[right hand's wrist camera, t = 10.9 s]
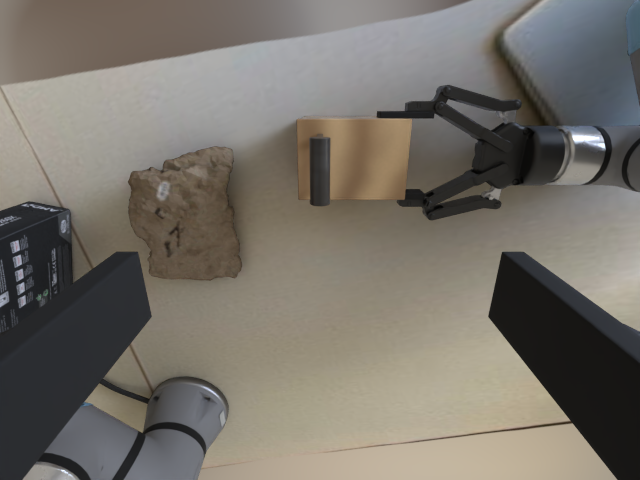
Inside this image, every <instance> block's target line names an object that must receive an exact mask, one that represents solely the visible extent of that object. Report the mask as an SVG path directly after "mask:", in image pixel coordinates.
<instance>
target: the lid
mask: <svg viewBox="0 0 640 480" xmlns="http://www.w3.org/2000/svg"><path fill="white" fill-rule="evenodd" d="M411 126H412V119H297V154H298V196H299V200H310V204H311V205H314V206H326V205H329V204H330V200H404V199H405V191H406V180H407V169H408V158H409V148H410V137H411Z"/></svg>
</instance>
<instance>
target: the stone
mask: <svg viewBox="0 0 640 480" xmlns="http://www.w3.org/2000/svg"><path fill="white" fill-rule="evenodd" d="M233 159H234V158H233V151H232V149H229V148H226V147H210V148H206V149H202V150H198V151H196V152H194V153H187V154H185V155H182V156H180V157H179V158H175V159H173V160H166V161H165V162H164V164H163V170H160V171H159V170H156V169H155V168H153V167H150V168H149V169H147V170H143V171H133V172H132V173H131V175H130V179H129V181H128V183H129V185H130V186H131V190H132V191H131V197H130V199H129V202H130V203H129V218H130V222H131V226H132V228H133V230H134V232H135V234H136V235H137V236H138V237H139V238H142V239H143V240H144V241H145V242H146V243H147V245H148V247H149V248H150V249H151V252H150V257H149V258H148V261H149V264H150V265H149V267H150V269H149V273H150V274H151V275H152V276H155V277H160V278H166V279H195V280H212V279H213V278H215V277H232V278H236V277H237V274H238V273H239V272H240V271H241V267H242V263H241V259H240V257H239V255H238V253H239V241H238V239H237V236H236V232H235V230H234V228H233V215H234V210H233V207H232V206H229V205H228V202H229V201H228V195H227V191H226V189H227V185H228V182H229V179H230V172H231V171H232V169H233V166H232V164H233Z"/></svg>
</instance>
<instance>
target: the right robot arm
mask: <svg viewBox="0 0 640 480" xmlns="http://www.w3.org/2000/svg"><path fill="white" fill-rule="evenodd" d="M151 317H152V316H151V311H150V306H149V302H148V297H147V292H146V288H145V283H144V278H143V274H142V269H141V264H140V260H139V255H138V252H116V253H114V254H113V255H111V256H110V257H109V258H107V259H106V260H105V261H103V262H102V263H100V264H99V265H98V266H96V267H95V268H94V269H92V270H91V271H89V272H88V273H87V274H85V275H84V276H83V277H81V278H80V279H78V280H77V281H76V282H74V283H73V284H72V285H70V286H69V287H67V288H66V289H65V290H63V291H62V292H60V293H59V294H58V295H56V296H55V297H54V298H52V299H51V300H49V301H48V302H47V303H45V304H44V305H43V306H41V307H40V308H38V309H37V310H36V311H34V312H33V313H32V314H30V315H29V316H27V317H26V318H25V319H23V320H22V321H21V322H19V323H18V324H16V325H15V326H14V327H12V328H10V329H8V330H6V331H4V332H2V333H0V480H197V479H198V476H199V473H200V470H201V467H202V463H203V460H204V457H205V454H206V451H207V450H208V448H209V447H210V445H211V444H212V443H213V441H214V440H215V439H216V437H217V436H218V434H219V433H220V432H221V430H222V429H223V427H224V425H225V423H226V419H227V416H228V410H229V409H228V403H227V400H226V398H225V397H224V395H223V394H222V393H221V391H220V390H219V389H217V388H216V387H215V386H213V385H212V384H210V383H208V382H206V381H204V380H201V379H197V378H192V377H178V378H173V379H169V380H167V381H165V382H163V383H162V384H160V385H159V386H158V387H157V388H156V389H155V391H154V393H153V394H152V396H151V398H150V399H148V398H145V397H142V396H140V395H137V394H134V393H131V392H129V391H126V390H123V389H121V388H119V387H116V386H114V385H112V384H111V383H109V382H107V381H105V380H104V379H103V377H104V376H105V375H106V374H107V372H108V371H109V370H110V369H111V367H112V366H113V365H114V364H115V362H116V361H117V360H118V359H119V357H120V356H121V355H122V354H123V352H124V351H125V350H126V348H127V347H128V346H129V345H130V343H131V342H132V341H133V340H134V338H135V337H136V336H137V335H138V333H139V332H140V331H141V330H142V328H143V327H144V326H145V324H146V323H147V322H148V321H149V319H150V318H151ZM488 317H489V318H490V319H491V321H492V322H493V323H494V324H495V326H496V327H497V328H498V330H499V331H500V332H501V333H502V335H503V336H504V337H505V338H506V340H507V341H508V342H509V343H510V345H511V346H512V347H513V348H514V350H515V351H516V352H517V354H518V355H519V356H520V357H521V359H522V360H523V361H524V362H525V364H526V365H527V366H528V367H529V369H530V370H531V371H532V372H533V374H534V375H535V376H536V377H537V379H538V380H539V381H540V383H541V384H542V385H543V386H544V388H545V389H546V390H547V391H548V393H549V394H550V395H551V396H552V398H553V399H554V400H555V401H556V403H557V404H558V405H559V407H560V408H561V409H562V410H563V412H564V413H565V414H566V415H567V417H568V418H569V419H570V420H571V422H572V423H573V424H574V425H575V427H576V428H577V429H578V430H579V432H580V433H581V434H582V435H583V437H584V438H585V439H586V441H587V442H588V443H589V444H590V446H591V447H592V448H593V449H594V451H595V452H596V453H597V454H598V456H599V457H600V458H601V460H602V461H603V462H604V463H605V465H606V466H607V467H608V468H609V470H610V471H611V472H612V473H613V475H614V476H615V477H616V478H617V480H640V332H639V331H637V330H635V329H633V328H631V327H629V326H627V325H625V324H622V323H621V322H619V321H618V320H617V319H615V318H614V317H613V316H611V315H610V314H608V313H607V312H606V311H604V310H603V309H602V308H600V307H599V306H597V305H596V304H595V303H593V302H592V301H591V300H589V299H588V298H586V297H585V296H584V295H582V294H581V293H580V292H578V291H577V290H575V289H574V288H573V287H571V286H570V285H568V284H567V283H566V282H564V281H563V280H562V279H560V278H559V277H557V276H556V275H555V274H553V273H552V272H551V271H549V270H548V269H546V268H545V267H544V266H542V265H541V264H540V263H538V262H537V261H535V260H534V259H533V258H531V257H530V256H529V255H527V254H526V253H524V252H502V255H501V260H500V264H499V269H498V274H497V278H496V283H495V288H494V292H493V297H492V302H491V306H490V311H489V316H488ZM99 383H100V384H102V385H104V386H105V387H107V388H109V389H111V390H113V391H115V392H118V393H120V394H123V395H125V396H128V397H131V398H133V399H136V400H139V401H141V402H144V403H147V404H148V407H147V412H146V418H145V424H144V430H143V433H141V432H139V431H137V430H136V429H134V428H132V427H130V426H128V425H127V424H125V423H123V422H121V421H120V420H118V419H116V418H114V417H113V416H111V415H109V414H107V413H105V412H104V411H102V410H100V409H98V408H97V407H95V406H93V404H91V403H86V402H84V401H85V400H86V399H87V398H88V396H89V395H90V394H91V393H92V391H93V390H94V389H95V388H96V386H97V385H98V384H99Z"/></svg>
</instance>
